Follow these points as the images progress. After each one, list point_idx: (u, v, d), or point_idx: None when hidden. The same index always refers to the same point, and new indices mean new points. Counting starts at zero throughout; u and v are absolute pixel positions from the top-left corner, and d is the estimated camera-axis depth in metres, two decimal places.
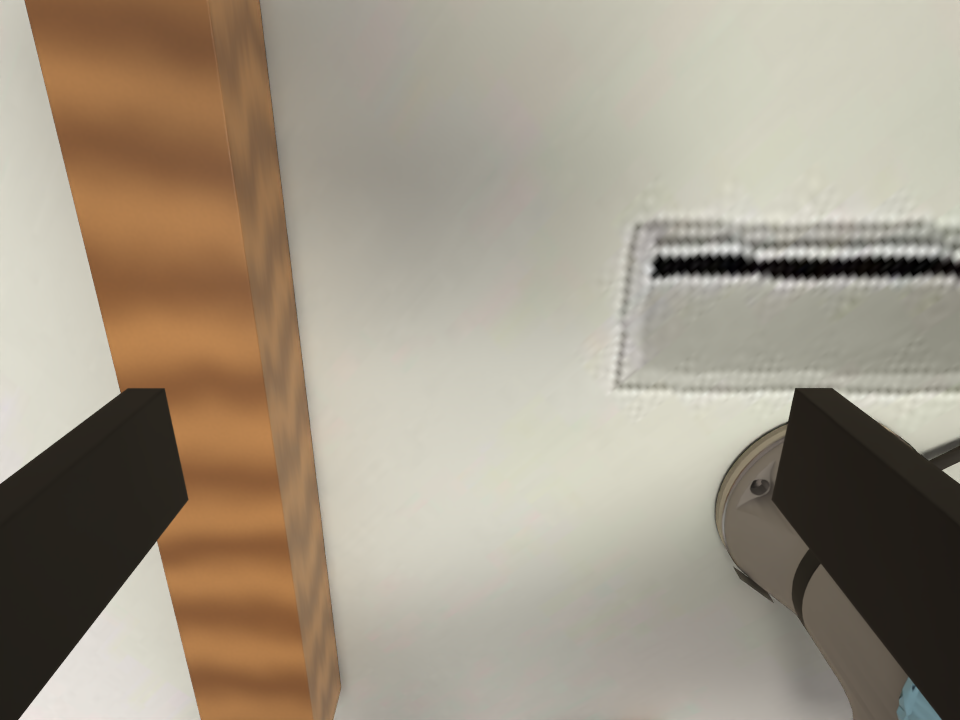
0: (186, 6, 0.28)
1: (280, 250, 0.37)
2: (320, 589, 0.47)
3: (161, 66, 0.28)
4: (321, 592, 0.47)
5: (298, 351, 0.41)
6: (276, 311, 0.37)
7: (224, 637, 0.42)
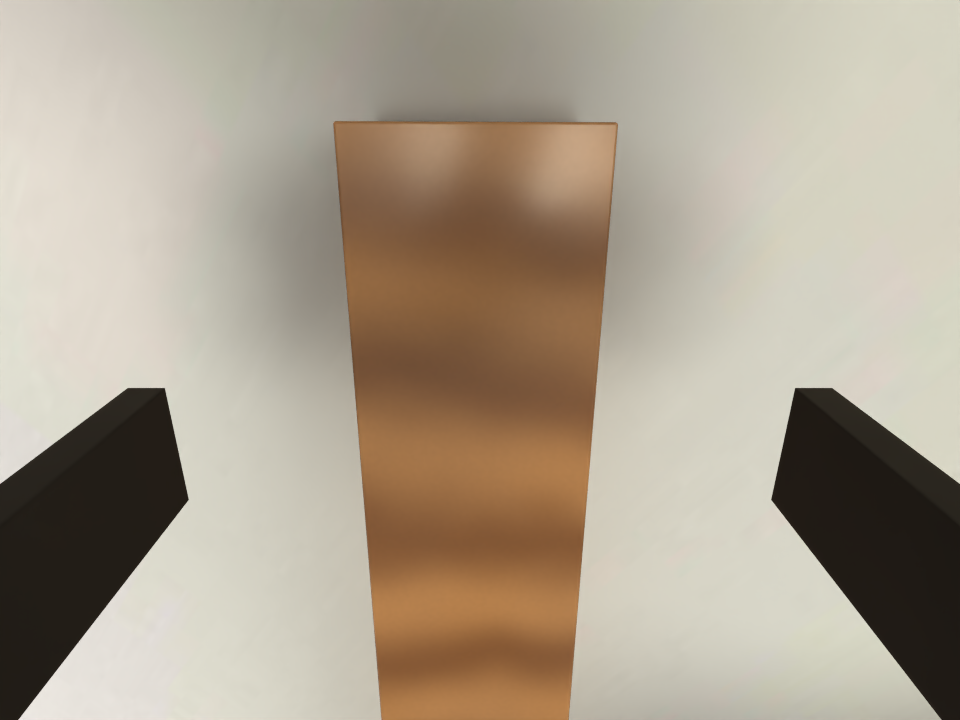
0: (579, 194, 0.18)
1: None
2: None
3: (522, 272, 0.19)
4: None
5: None
6: None
7: None
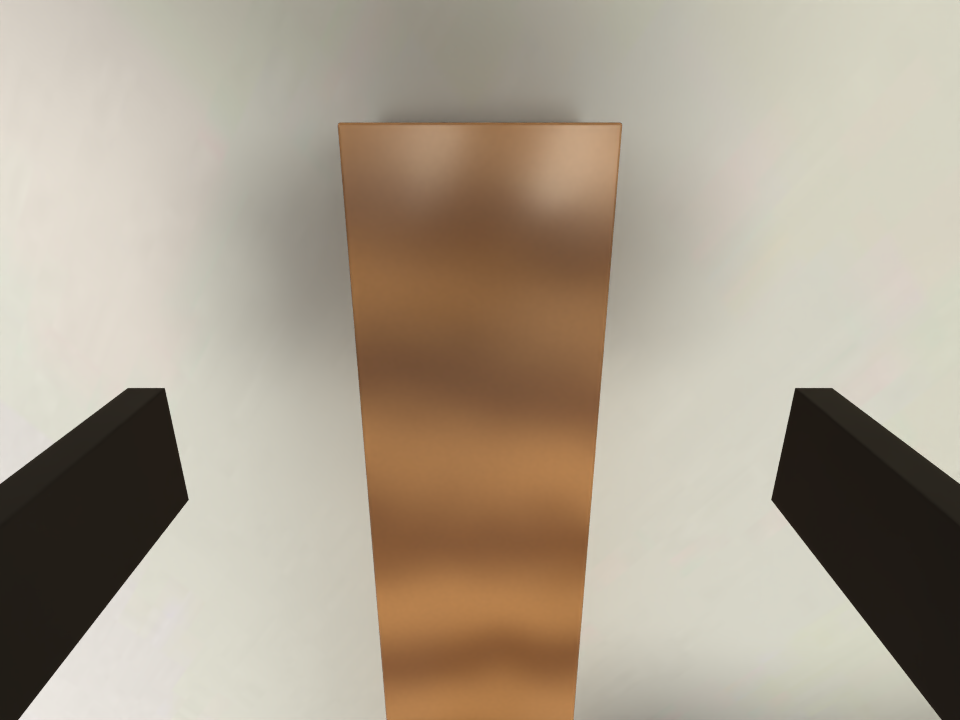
0: (583, 194, 0.18)
1: None
2: None
3: (527, 273, 0.19)
4: None
5: None
6: None
7: None
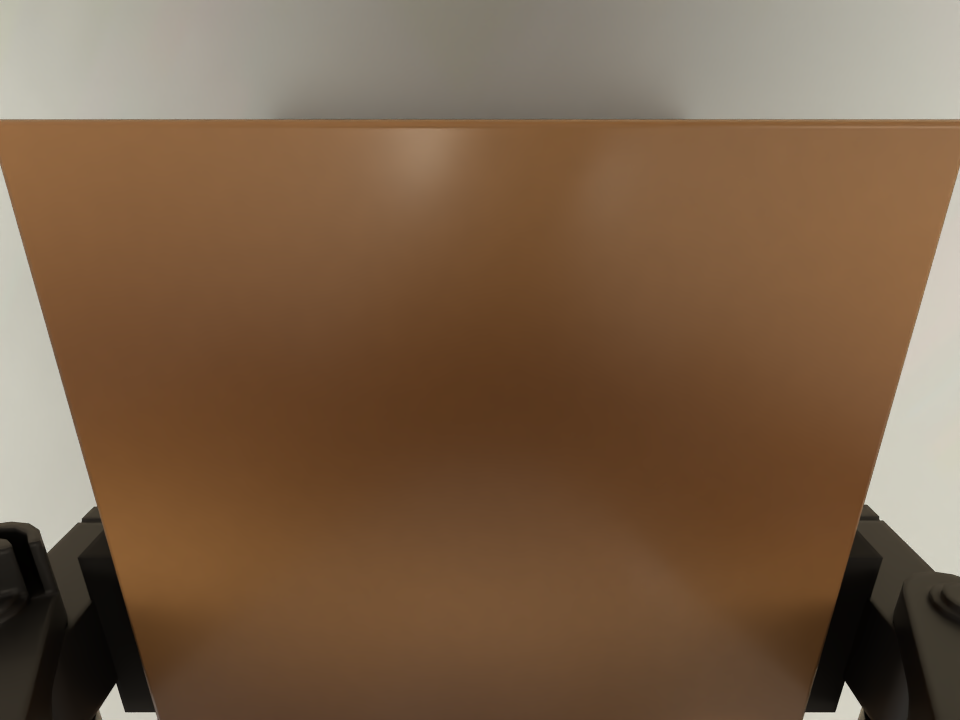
0: (806, 346, 0.06)
1: None
2: None
3: (615, 550, 0.07)
4: None
5: None
6: None
7: None
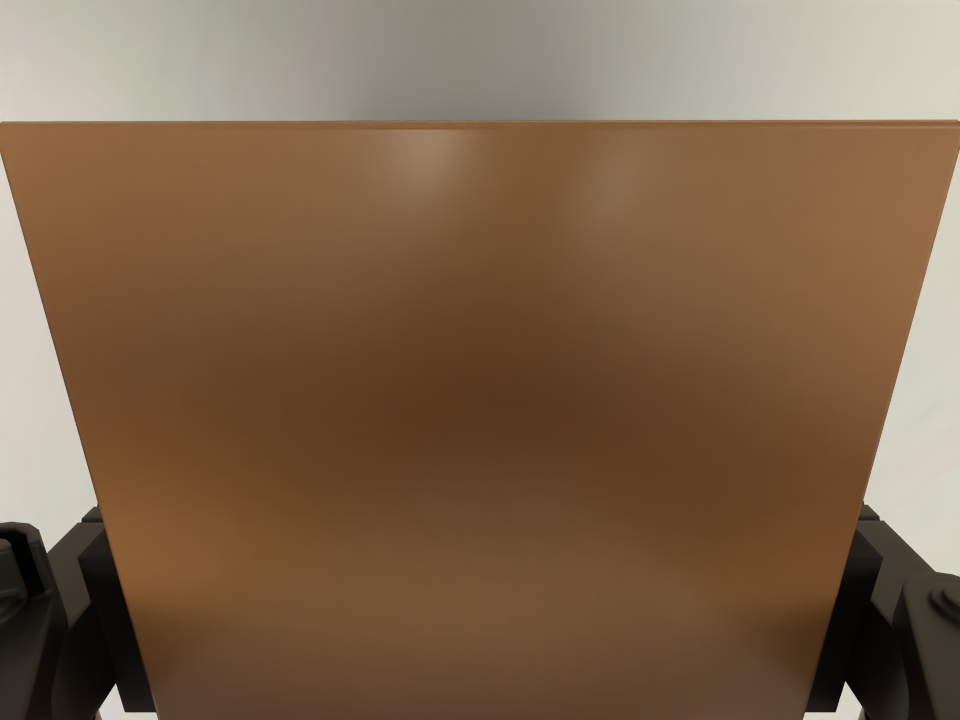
0: (803, 346, 0.06)
1: None
2: None
3: (614, 550, 0.07)
4: None
5: None
6: None
7: None
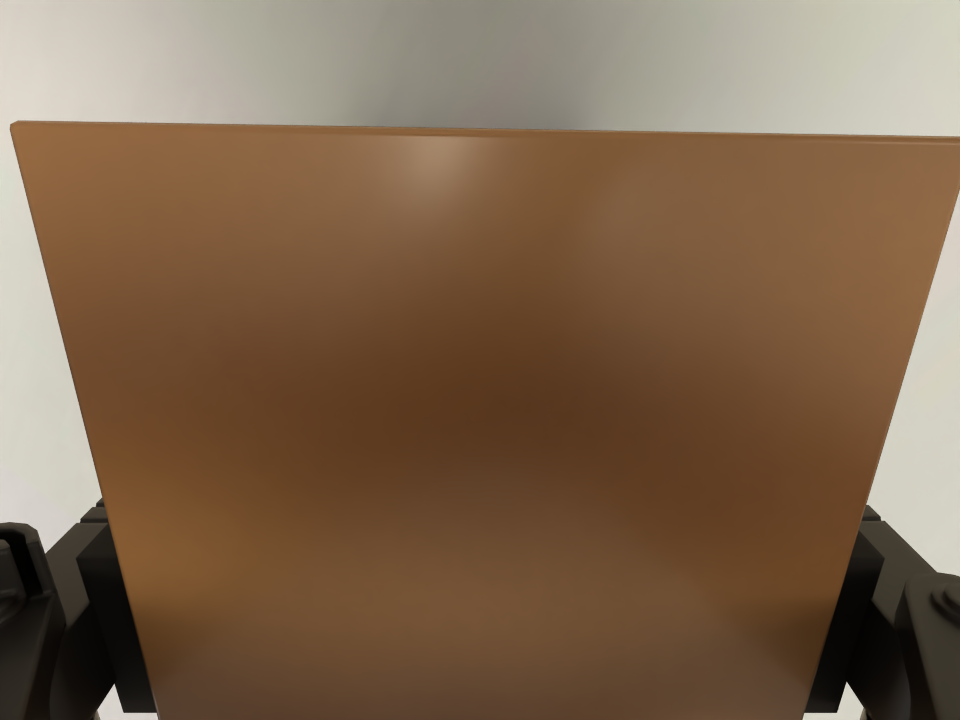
0: (808, 357, 0.06)
1: None
2: None
3: (618, 555, 0.07)
4: None
5: None
6: None
7: None
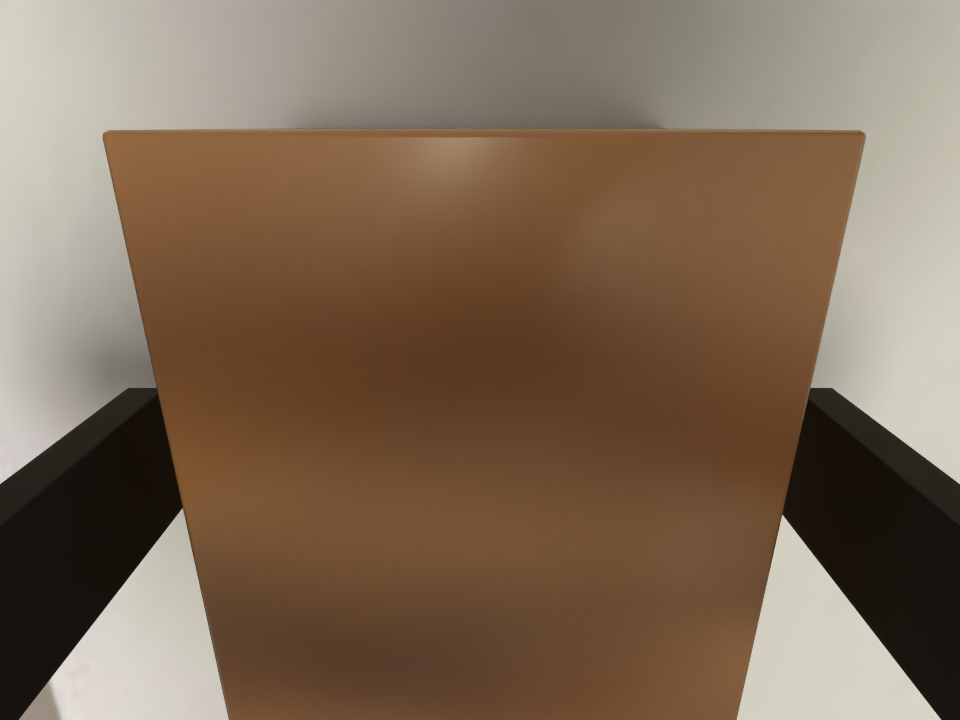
0: (745, 310, 0.07)
1: None
2: None
3: (596, 482, 0.08)
4: None
5: None
6: None
7: None
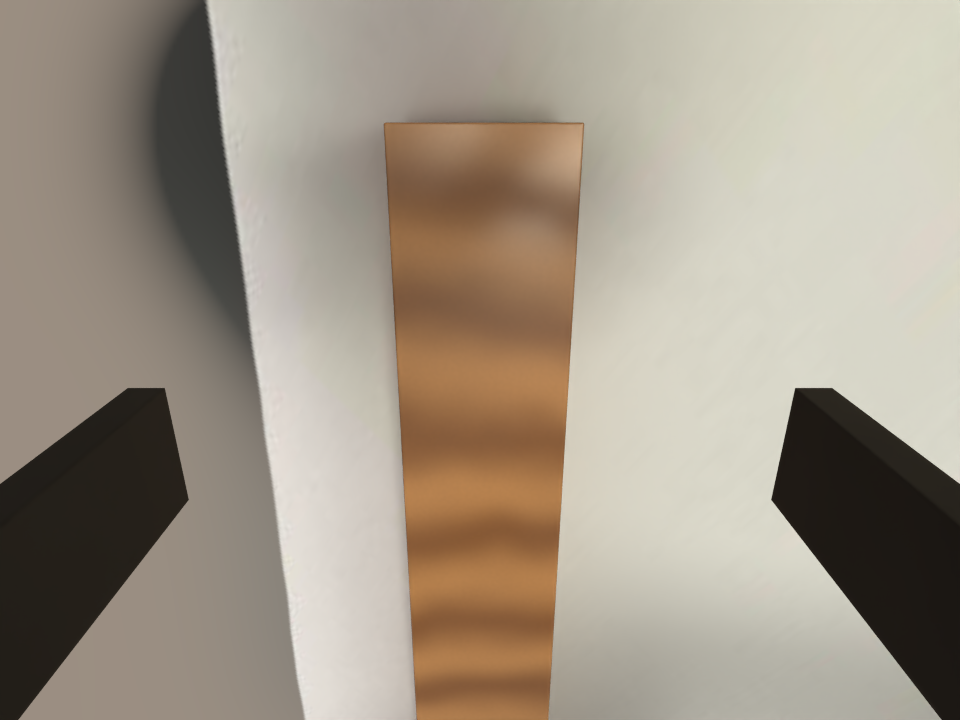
0: (557, 173, 0.26)
1: None
2: None
3: (517, 231, 0.27)
4: None
5: None
6: None
7: None
